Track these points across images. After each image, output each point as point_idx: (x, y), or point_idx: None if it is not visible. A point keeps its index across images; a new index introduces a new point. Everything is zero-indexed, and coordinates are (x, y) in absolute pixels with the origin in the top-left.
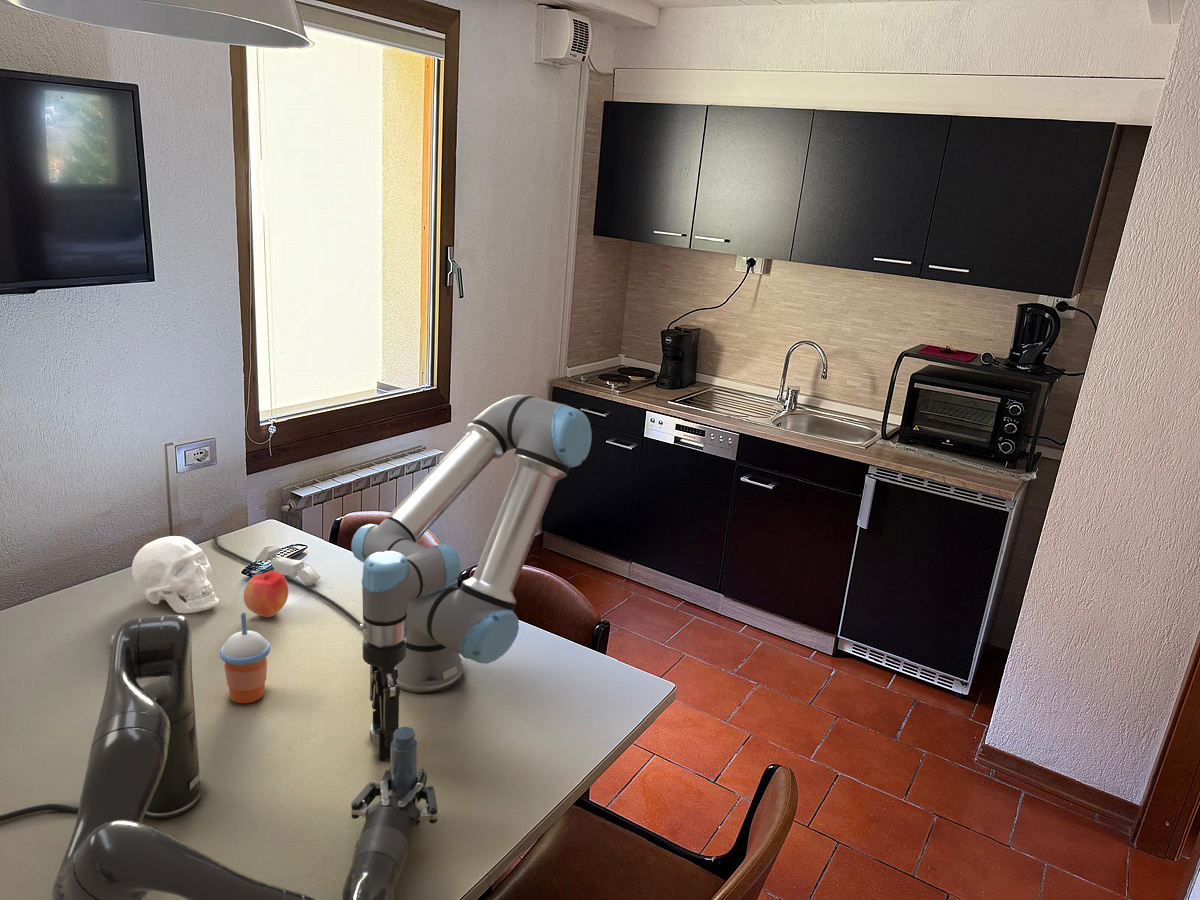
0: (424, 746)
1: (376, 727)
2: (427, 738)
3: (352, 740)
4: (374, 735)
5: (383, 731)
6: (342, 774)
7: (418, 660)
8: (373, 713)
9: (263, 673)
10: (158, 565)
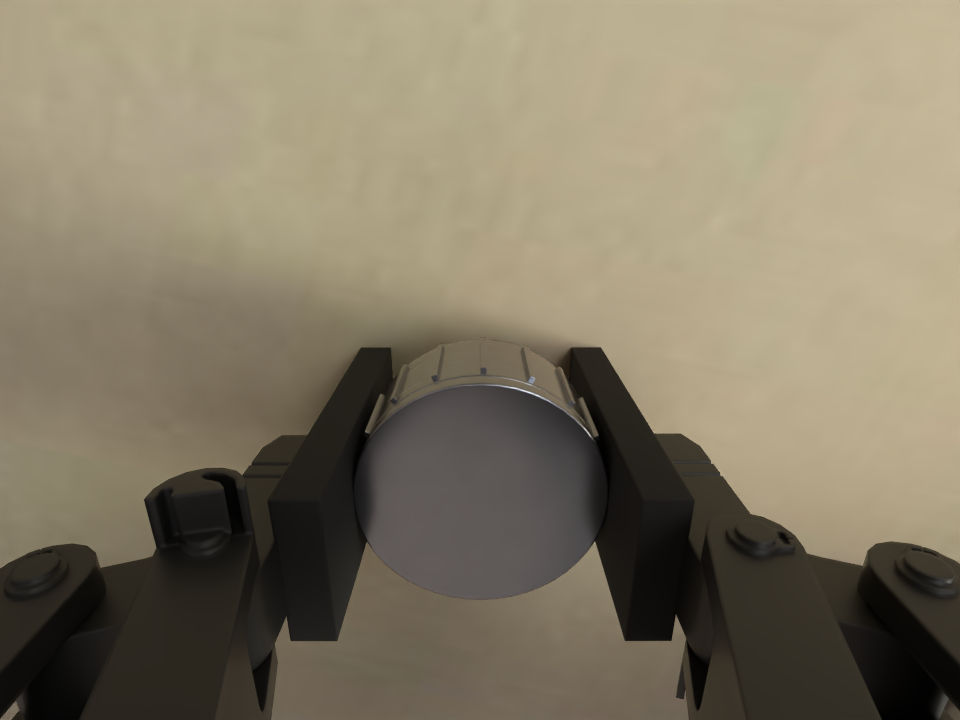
0: (426, 607)
1: (509, 446)
2: (494, 635)
3: (677, 210)
4: (399, 401)
5: (5, 581)
6: (273, 43)
7: None
8: (651, 498)
9: None
10: None
